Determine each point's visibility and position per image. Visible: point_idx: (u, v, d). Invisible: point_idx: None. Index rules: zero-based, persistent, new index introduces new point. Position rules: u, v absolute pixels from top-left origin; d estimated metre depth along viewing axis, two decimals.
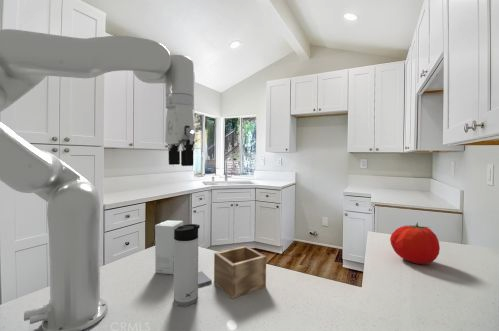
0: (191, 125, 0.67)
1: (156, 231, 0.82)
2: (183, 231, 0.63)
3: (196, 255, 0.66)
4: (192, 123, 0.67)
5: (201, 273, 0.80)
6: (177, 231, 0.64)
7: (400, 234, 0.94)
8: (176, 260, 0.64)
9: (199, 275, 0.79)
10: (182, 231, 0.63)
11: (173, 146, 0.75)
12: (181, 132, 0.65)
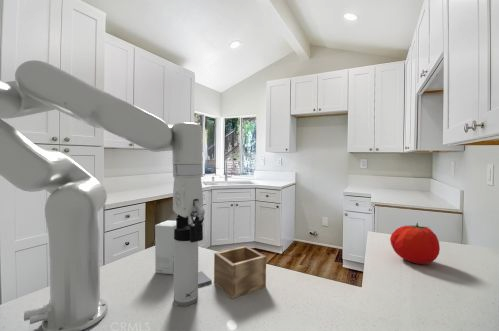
0: (200, 198, 0.63)
1: (156, 231, 0.82)
2: (183, 231, 0.63)
3: (196, 255, 0.66)
4: (201, 195, 0.63)
5: (201, 273, 0.80)
6: (177, 231, 0.64)
7: (400, 234, 0.94)
8: (176, 260, 0.64)
9: (199, 275, 0.79)
10: (182, 231, 0.63)
11: None
12: (189, 207, 0.61)
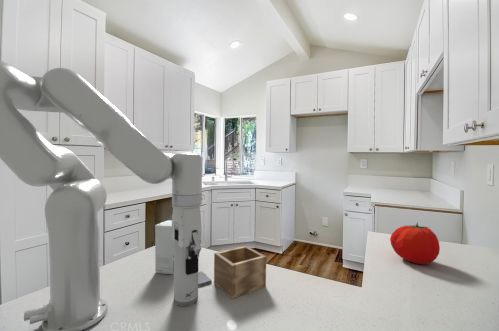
0: (199, 228, 0.63)
1: (156, 231, 0.82)
2: None
3: None
4: (200, 226, 0.63)
5: (201, 273, 0.80)
6: (177, 231, 0.64)
7: (400, 234, 0.94)
8: (176, 260, 0.64)
9: (199, 275, 0.79)
10: None
11: None
12: (188, 238, 0.61)
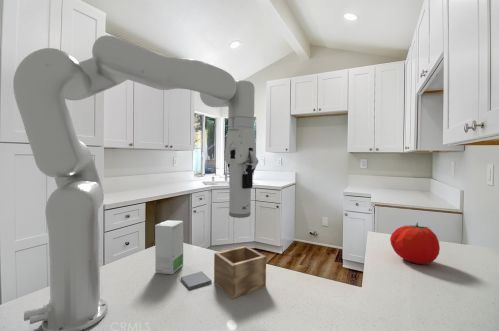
0: (254, 147, 0.70)
1: (156, 231, 0.82)
2: None
3: None
4: (255, 145, 0.71)
5: (201, 273, 0.80)
6: (234, 150, 0.71)
7: (400, 234, 0.94)
8: (233, 176, 0.72)
9: (199, 275, 0.79)
10: None
11: None
12: (246, 154, 0.69)
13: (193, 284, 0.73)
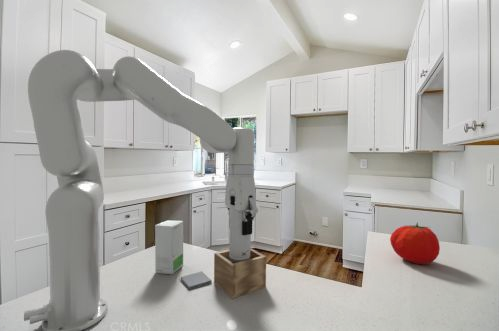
0: (253, 194, 0.71)
1: (156, 231, 0.82)
2: None
3: None
4: (254, 192, 0.71)
5: (201, 273, 0.80)
6: (234, 197, 0.72)
7: (400, 234, 0.94)
8: (233, 222, 0.72)
9: (199, 275, 0.79)
10: None
11: None
12: (245, 202, 0.69)
13: (193, 284, 0.73)
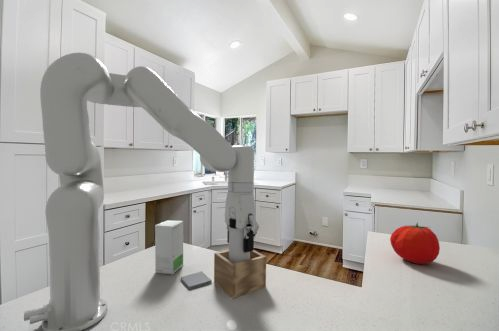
0: (253, 212, 0.71)
1: (156, 231, 0.82)
2: None
3: None
4: (254, 210, 0.72)
5: (201, 273, 0.80)
6: (233, 220, 0.72)
7: (400, 234, 0.94)
8: (232, 245, 0.72)
9: (199, 275, 0.79)
10: None
11: None
12: (245, 220, 0.70)
13: (193, 284, 0.73)
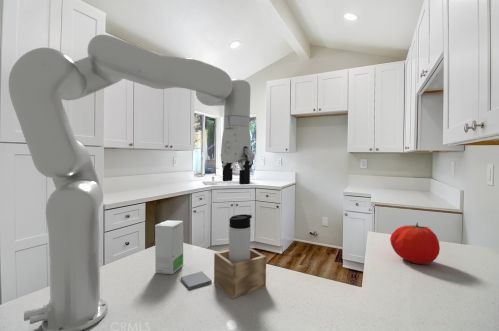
0: (249, 146, 0.71)
1: (156, 231, 0.82)
2: (239, 220, 0.71)
3: (249, 241, 0.74)
4: (249, 144, 0.71)
5: (201, 273, 0.80)
6: (234, 220, 0.72)
7: (400, 234, 0.94)
8: (232, 245, 0.72)
9: (199, 275, 0.79)
10: (238, 220, 0.71)
11: (226, 163, 0.79)
12: (240, 152, 0.69)
13: (193, 284, 0.73)
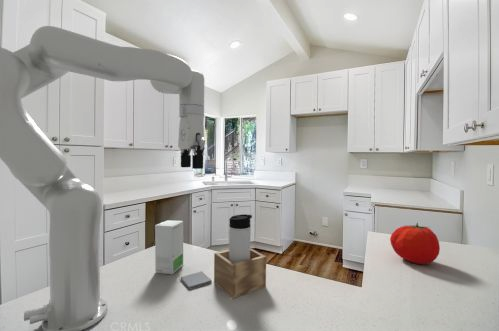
0: (201, 132, 0.75)
1: (156, 231, 0.82)
2: (239, 220, 0.71)
3: (249, 242, 0.74)
4: (202, 131, 0.76)
5: (201, 273, 0.80)
6: (234, 220, 0.72)
7: (400, 234, 0.94)
8: (232, 245, 0.72)
9: (199, 275, 0.79)
10: (238, 220, 0.71)
11: (185, 150, 0.83)
12: (193, 139, 0.74)
13: (193, 284, 0.73)
